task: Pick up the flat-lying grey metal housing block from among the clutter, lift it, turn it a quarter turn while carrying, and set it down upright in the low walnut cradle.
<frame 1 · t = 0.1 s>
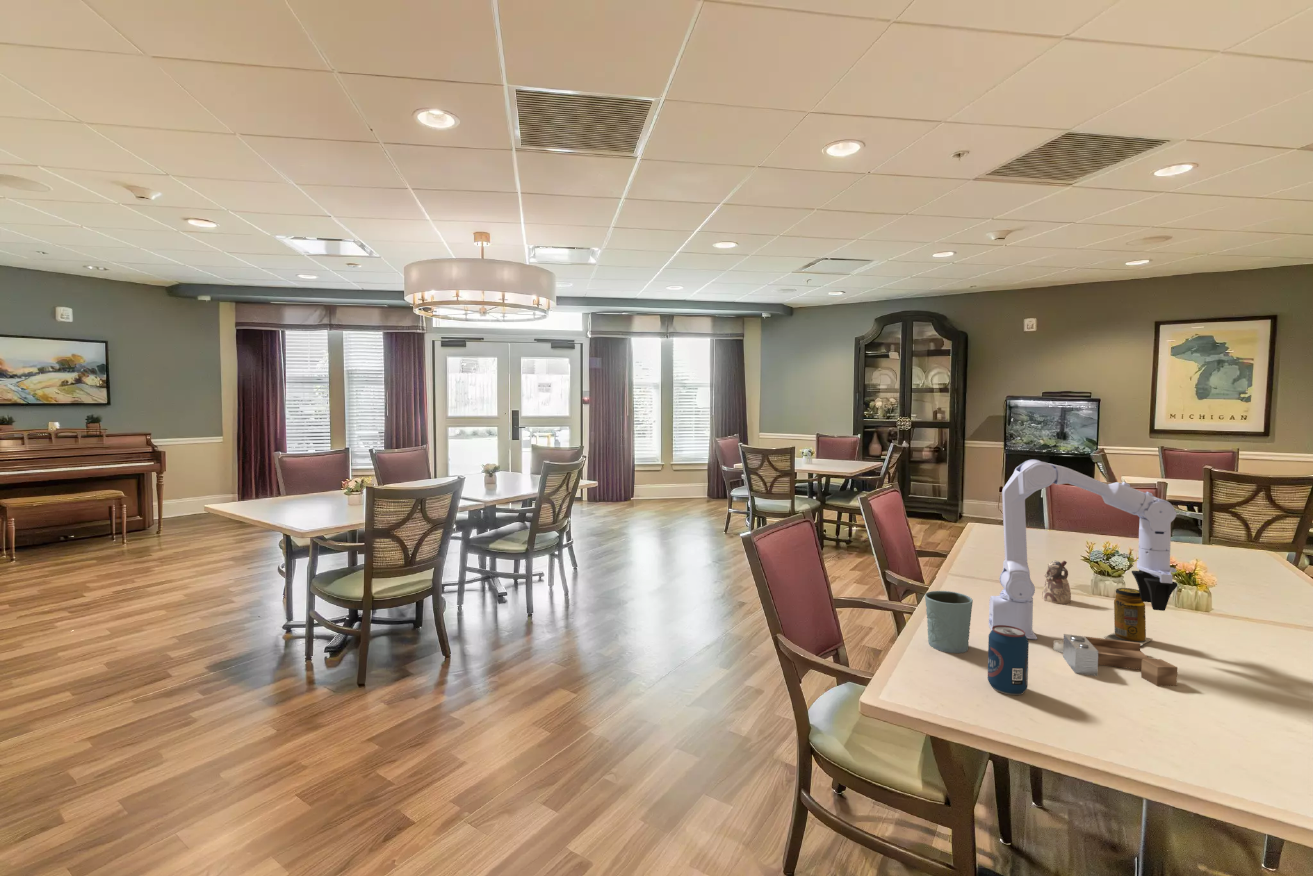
hand: (1152, 605, 139), 10 cm above the table, fingers open, 6 cm apart
green embossed planter: (947, 647, 141), on the table
figurine: (1056, 601, 177), on the table
plastic cap: (1062, 651, 139), on the table
stand: (1115, 658, 134), on the table
condiment: (1128, 640, 146), on the table, touching gripper
walnut block: (1158, 682, 122), on the table
housing: (1079, 667, 130), on the table
soda can: (1007, 689, 119), on the table
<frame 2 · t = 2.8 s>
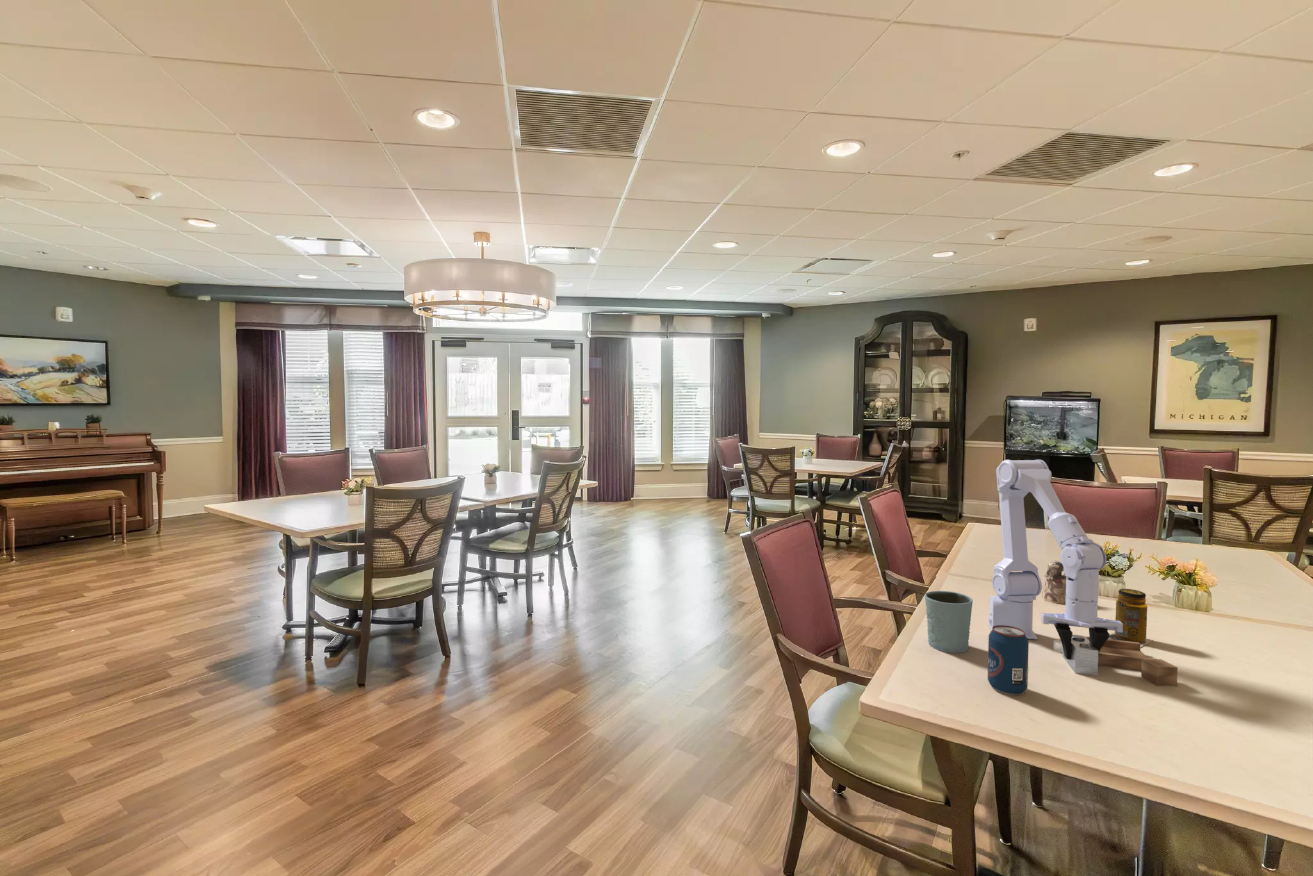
hand: (1079, 659, 130), 2 cm above the table, fingers closed on housing, 4 cm apart
condiment: (1128, 640, 146), on the table
housing: (1079, 666, 130), on the table, touching gripper
everything else where it was.
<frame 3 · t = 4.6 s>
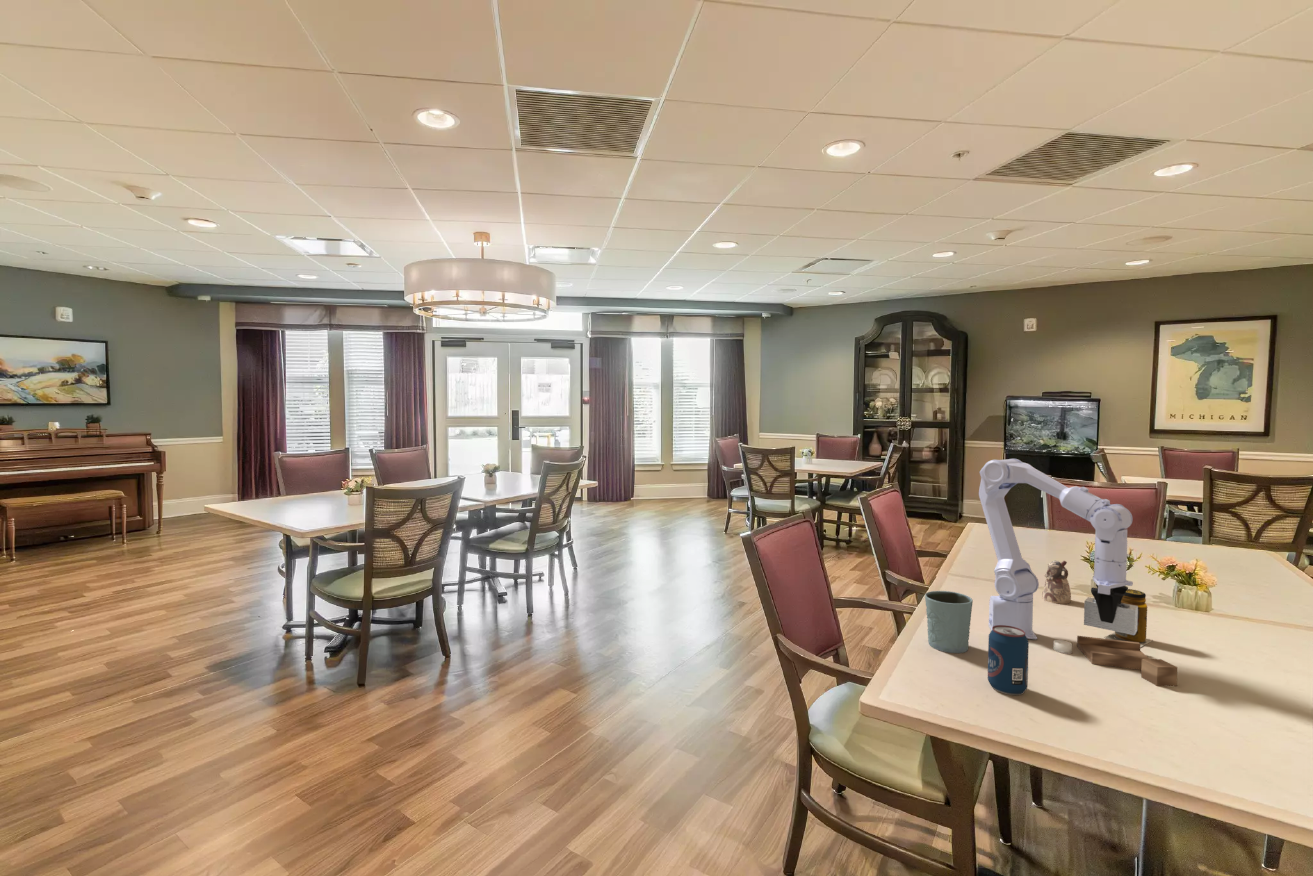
hand: (1108, 619, 132), 9 cm above the table, fingers closed on housing, 4 cm apart
housing: (1110, 627, 132), point 8 cm above the table, touching gripper
everything else where it was.
when the fingers open (4 cm above the table, at t = 6.3 s): housing stays where it is, resting on stand.
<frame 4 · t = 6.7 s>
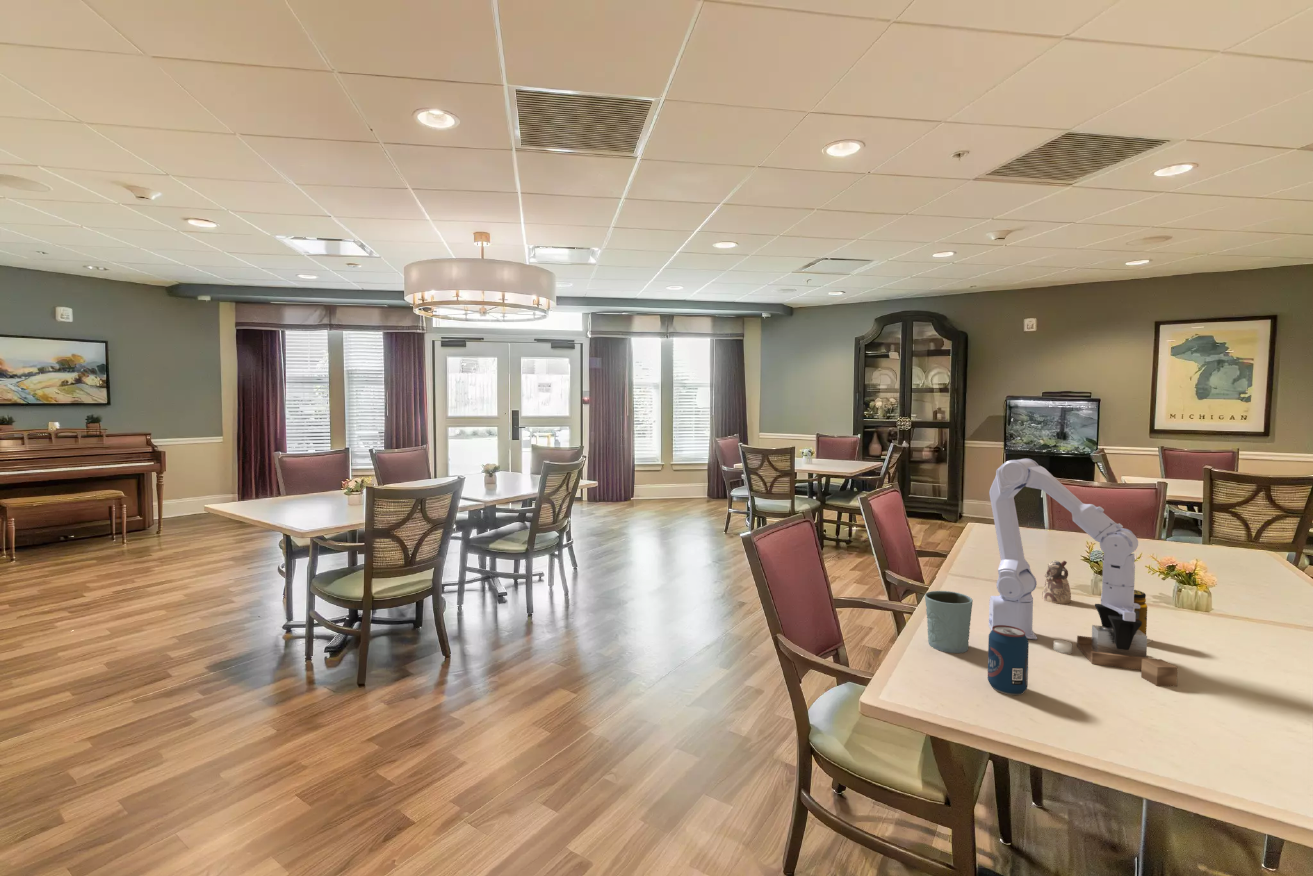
hand: (1116, 642, 134), 4 cm above the table, fingers open, 7 cm apart
housing: (1118, 654, 134), point 1 cm above the table, touching stand
everything else where it was.
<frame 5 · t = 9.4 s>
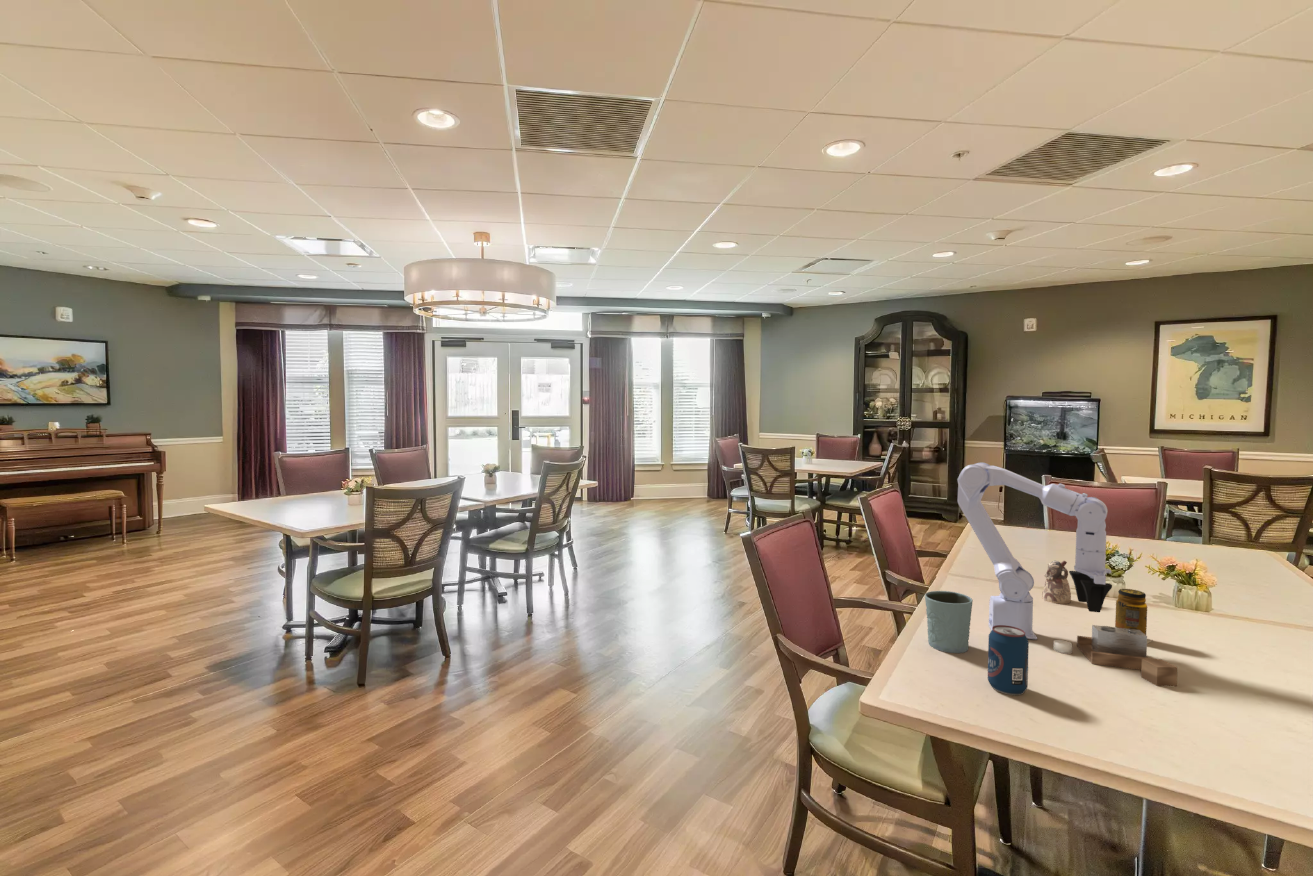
hand: (1088, 606, 140), 10 cm above the table, fingers open, 7 cm apart
nothing on the table moved.
at the end: housing inside the target area on the stand (0.4 cm from its centre), point 1.0 cm above the stand's base; housing tilted 0°; the gripper is holding nothing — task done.
